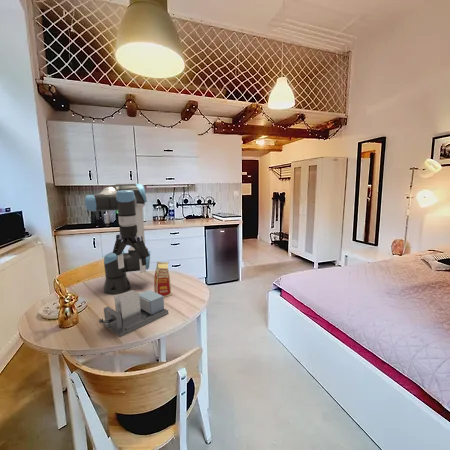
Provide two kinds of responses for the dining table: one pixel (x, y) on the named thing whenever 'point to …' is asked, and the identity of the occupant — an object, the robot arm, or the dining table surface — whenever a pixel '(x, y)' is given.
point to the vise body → (116, 325)
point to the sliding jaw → (151, 302)
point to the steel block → (128, 306)
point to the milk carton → (162, 279)
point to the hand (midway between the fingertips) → (132, 270)
